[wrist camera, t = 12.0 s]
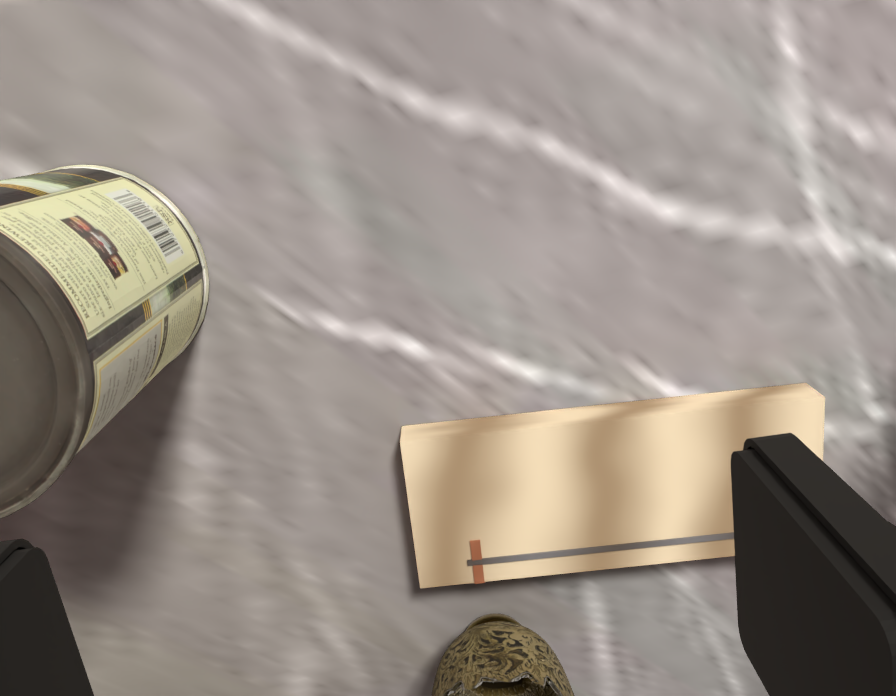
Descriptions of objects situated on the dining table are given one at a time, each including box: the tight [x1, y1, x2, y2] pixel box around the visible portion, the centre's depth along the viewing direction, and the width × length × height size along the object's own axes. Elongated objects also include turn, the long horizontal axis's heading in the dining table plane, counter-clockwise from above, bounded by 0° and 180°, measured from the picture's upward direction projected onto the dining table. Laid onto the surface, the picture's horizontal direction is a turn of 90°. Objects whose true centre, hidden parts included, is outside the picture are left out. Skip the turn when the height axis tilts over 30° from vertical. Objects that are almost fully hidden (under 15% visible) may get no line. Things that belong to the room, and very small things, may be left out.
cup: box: [432, 614, 574, 696], centre depth 39 cm, size 8×7×8 cm
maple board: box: [400, 383, 825, 588], centre depth 39 cm, size 20×8×2 cm, turn 96°
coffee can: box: [0, 165, 209, 518], centre depth 30 cm, size 10×10×14 cm
